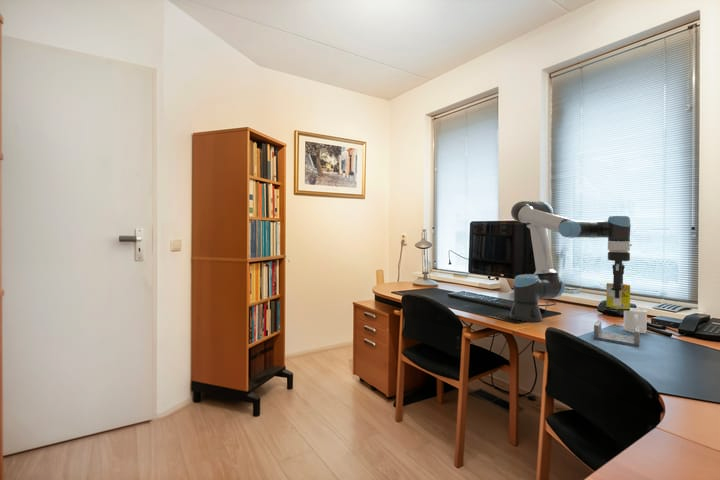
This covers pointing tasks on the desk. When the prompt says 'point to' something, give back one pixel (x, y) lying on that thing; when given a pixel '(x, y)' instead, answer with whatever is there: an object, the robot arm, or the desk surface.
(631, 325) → the mug
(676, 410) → the desk surface
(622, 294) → the supplement box
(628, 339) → the bracket
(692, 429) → the desk surface
